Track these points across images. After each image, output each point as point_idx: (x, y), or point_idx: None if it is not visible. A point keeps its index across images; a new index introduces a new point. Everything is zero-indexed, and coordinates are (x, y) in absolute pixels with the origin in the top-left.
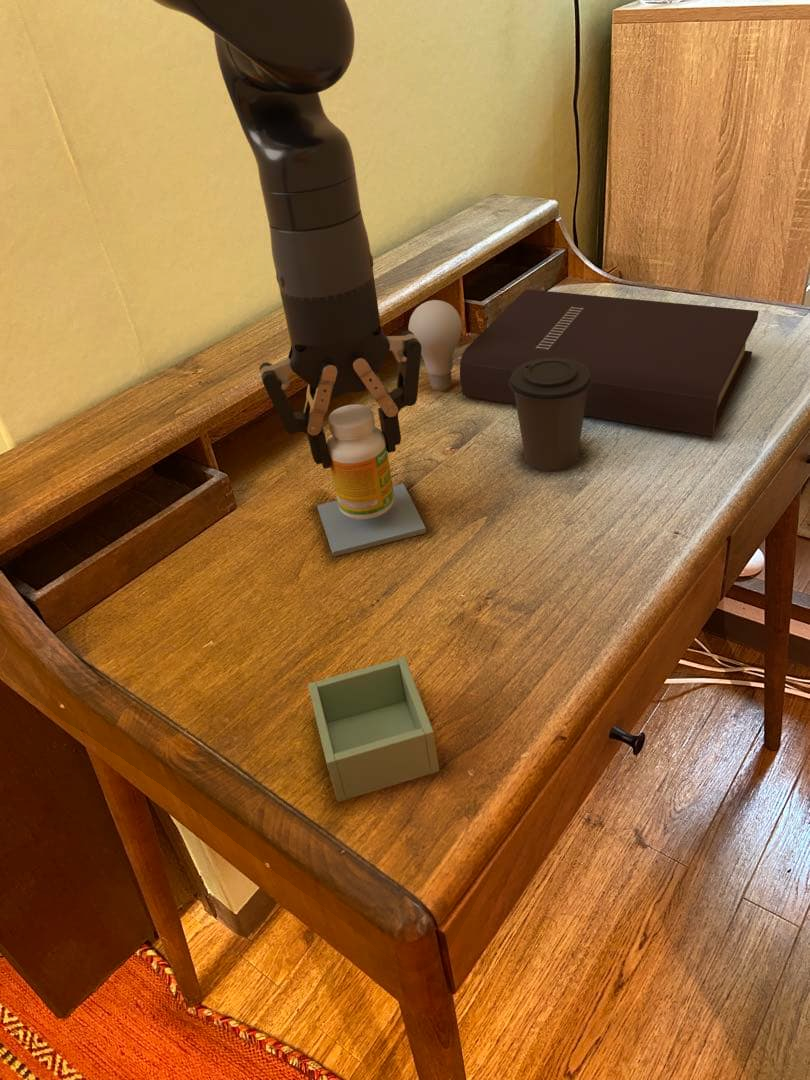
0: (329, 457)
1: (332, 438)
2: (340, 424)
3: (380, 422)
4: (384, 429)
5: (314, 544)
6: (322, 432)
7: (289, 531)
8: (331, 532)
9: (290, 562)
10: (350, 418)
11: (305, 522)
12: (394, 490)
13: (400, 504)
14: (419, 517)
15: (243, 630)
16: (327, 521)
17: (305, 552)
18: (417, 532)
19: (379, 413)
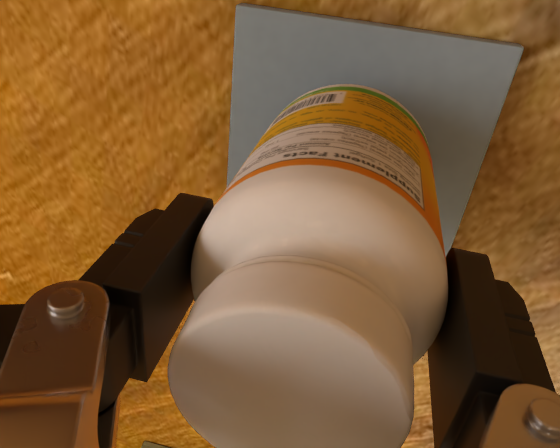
0: (193, 299)
1: (212, 279)
2: (212, 431)
3: (461, 320)
4: (436, 385)
5: (200, 143)
6: (138, 371)
7: (151, 57)
8: (241, 150)
9: (141, 171)
10: (273, 426)
11: (196, 41)
12: (475, 69)
13: (448, 146)
14: (458, 221)
15: (55, 280)
16: (243, 103)
17: (176, 158)
18: None
19: (465, 374)
